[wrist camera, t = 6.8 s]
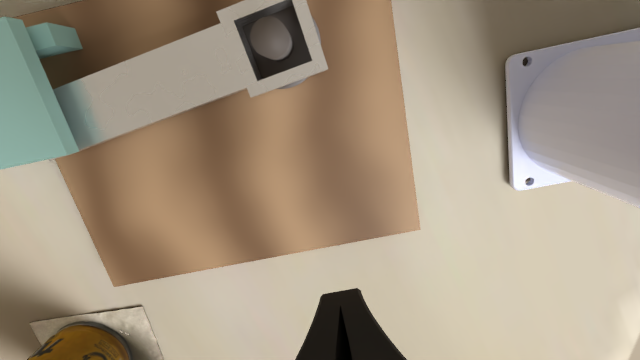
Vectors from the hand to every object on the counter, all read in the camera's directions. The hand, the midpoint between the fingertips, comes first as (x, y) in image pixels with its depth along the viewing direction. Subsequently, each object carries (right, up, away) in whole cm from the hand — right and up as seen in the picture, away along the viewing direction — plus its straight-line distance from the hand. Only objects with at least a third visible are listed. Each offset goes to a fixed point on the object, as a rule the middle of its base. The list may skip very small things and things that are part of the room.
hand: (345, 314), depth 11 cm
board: (-6, +8, +8) cm, 13 cm away
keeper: (-16, +10, +7) cm, 20 cm away
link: (-8, +10, +6) cm, 14 cm away
